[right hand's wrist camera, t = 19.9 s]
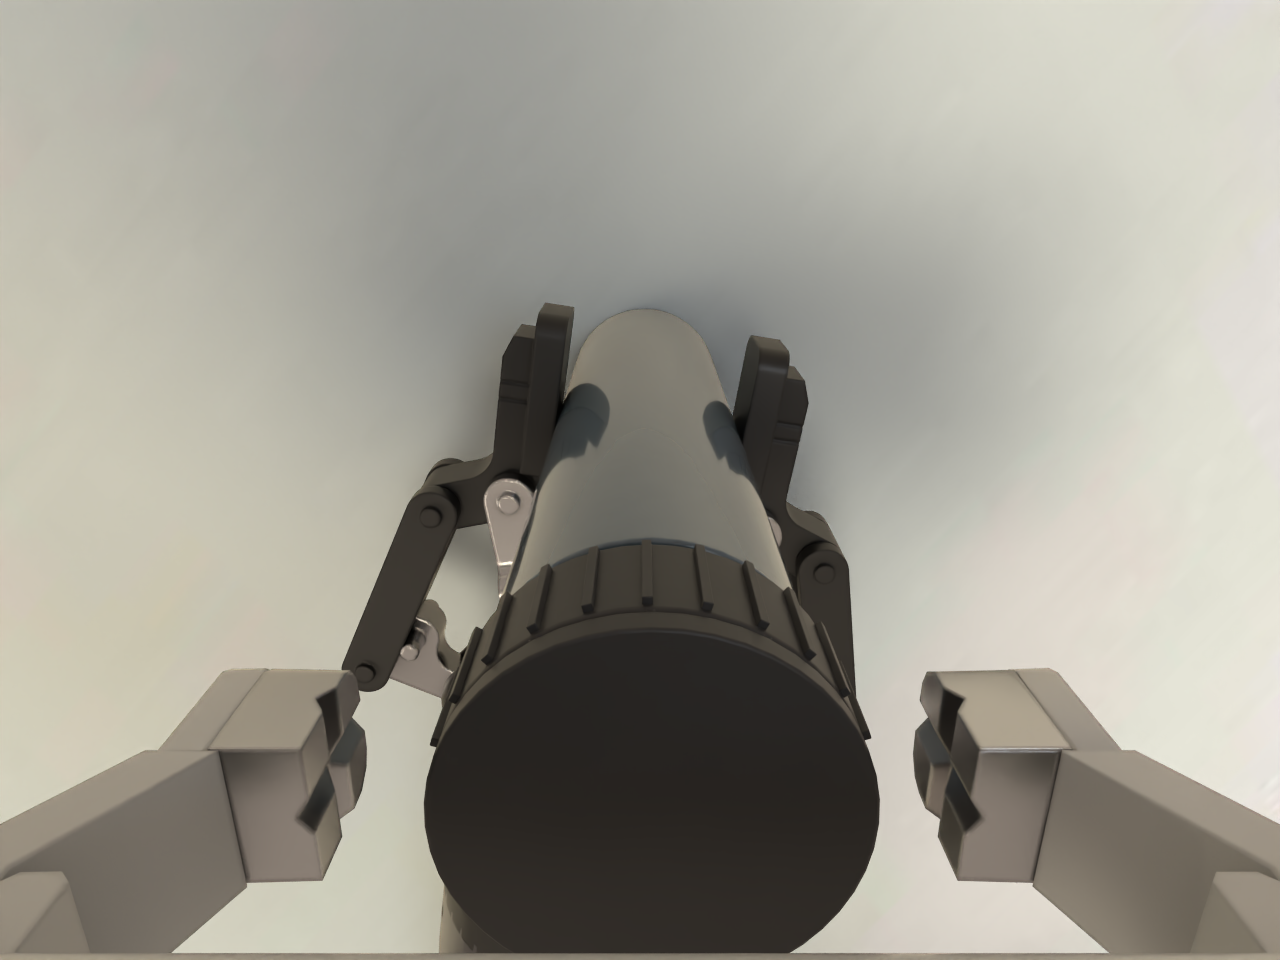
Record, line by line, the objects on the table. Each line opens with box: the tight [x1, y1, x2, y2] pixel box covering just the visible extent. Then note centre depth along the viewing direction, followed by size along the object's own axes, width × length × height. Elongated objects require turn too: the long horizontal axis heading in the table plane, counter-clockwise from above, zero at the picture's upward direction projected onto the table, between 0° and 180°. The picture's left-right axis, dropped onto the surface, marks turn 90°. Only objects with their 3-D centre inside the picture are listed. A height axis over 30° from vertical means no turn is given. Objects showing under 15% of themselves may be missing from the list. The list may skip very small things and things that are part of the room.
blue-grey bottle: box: [502, 309, 799, 603], centre depth 18 cm, size 4×4×18 cm
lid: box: [424, 540, 880, 953], centre depth 9 cm, size 5×5×2 cm
